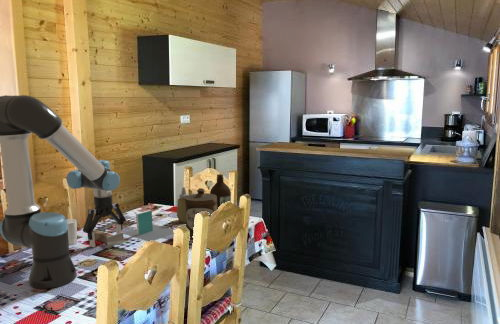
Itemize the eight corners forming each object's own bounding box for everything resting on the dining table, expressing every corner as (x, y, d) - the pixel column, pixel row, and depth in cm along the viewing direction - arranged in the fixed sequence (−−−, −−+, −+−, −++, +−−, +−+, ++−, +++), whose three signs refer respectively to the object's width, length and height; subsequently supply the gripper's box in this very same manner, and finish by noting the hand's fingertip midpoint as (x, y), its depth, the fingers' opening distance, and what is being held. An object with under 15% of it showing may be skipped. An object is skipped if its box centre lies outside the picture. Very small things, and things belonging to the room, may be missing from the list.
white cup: (55, 244, 185) (53, 222, 184) (70, 239, 192) (68, 218, 191) (67, 247, 182) (65, 224, 180) (82, 241, 189) (80, 220, 187)
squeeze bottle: (175, 220, 219) (173, 186, 217) (190, 218, 223) (188, 185, 220) (179, 224, 212) (178, 189, 209) (194, 222, 215) (193, 188, 213)
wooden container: (183, 239, 189) (181, 192, 186) (189, 229, 204) (188, 185, 201) (216, 239, 189) (215, 192, 185) (220, 229, 203) (218, 185, 200)
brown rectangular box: (86, 241, 189) (85, 230, 189) (101, 236, 196) (100, 226, 195) (108, 248, 179) (107, 237, 179) (123, 243, 186) (123, 232, 185)
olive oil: (206, 222, 215) (205, 174, 211) (222, 218, 222) (221, 172, 218) (219, 227, 207) (218, 177, 203) (235, 222, 214) (234, 174, 210)
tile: (139, 235, 195) (138, 214, 193) (137, 234, 196) (135, 213, 194) (152, 230, 201) (151, 210, 199) (150, 230, 202) (149, 209, 200)
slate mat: (150, 242, 186) (149, 241, 186) (122, 234, 198) (122, 233, 197) (179, 232, 200) (179, 231, 200) (152, 225, 212) (152, 224, 212)
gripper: (81, 202, 172) (85, 252, 175) (131, 191, 191) (134, 235, 195) (71, 200, 176) (75, 248, 179) (121, 189, 196) (124, 233, 199)
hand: (106, 242), depth 187 cm, fingers open, 13 cm apart
